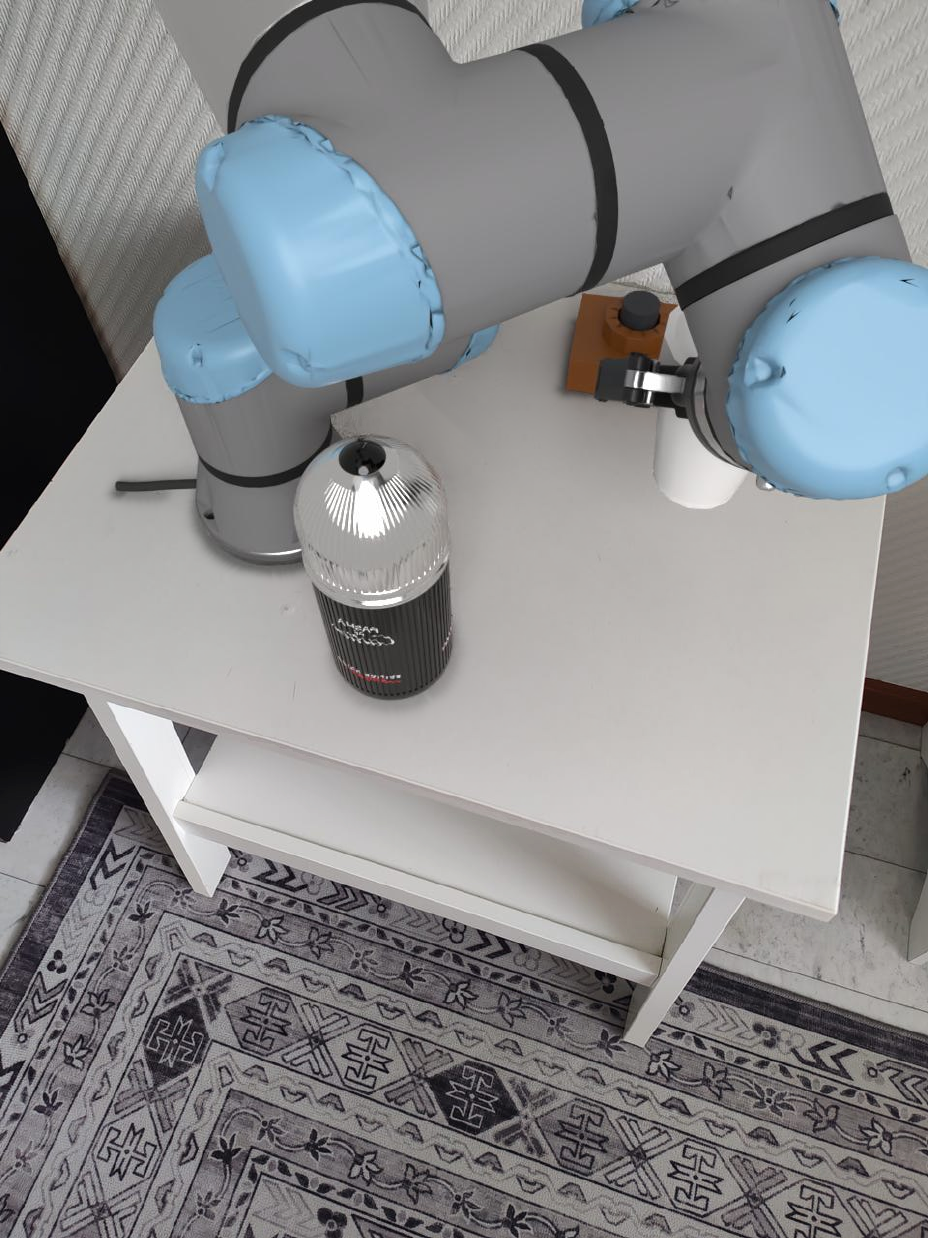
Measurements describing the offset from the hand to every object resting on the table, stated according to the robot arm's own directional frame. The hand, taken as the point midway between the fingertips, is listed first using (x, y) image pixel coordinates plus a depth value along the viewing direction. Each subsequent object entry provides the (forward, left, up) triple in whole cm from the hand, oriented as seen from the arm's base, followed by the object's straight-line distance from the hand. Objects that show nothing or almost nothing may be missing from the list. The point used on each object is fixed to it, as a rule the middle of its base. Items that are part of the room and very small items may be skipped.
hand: (713, 397), depth 63 cm
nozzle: (-5, +23, -13) cm, 27 cm away
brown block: (-5, +23, -19) cm, 30 cm away
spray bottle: (-21, -15, -19) cm, 32 cm away
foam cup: (0, -3, -5) cm, 6 cm away
